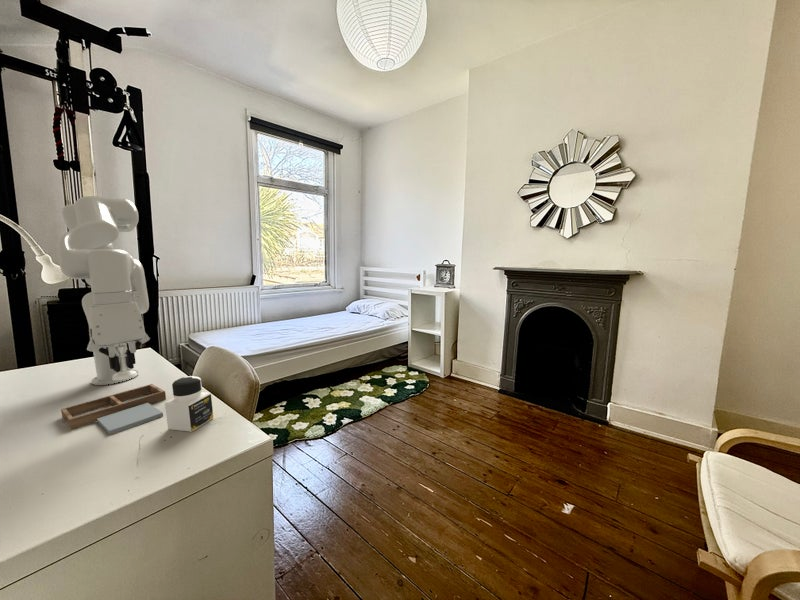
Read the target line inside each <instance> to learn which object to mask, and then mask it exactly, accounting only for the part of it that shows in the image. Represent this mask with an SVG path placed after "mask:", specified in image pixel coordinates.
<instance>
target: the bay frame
mask: <svg viewBox="0 0 800 600" xmlns="http://www.w3.org/2000/svg"><path fill="white" fill-rule="evenodd" d="M149 392H151V393H149ZM147 393H148V394H149V395H148V394H147ZM152 393H153V394H152ZM144 394H145V395H144ZM141 395H142V397H141ZM166 395H167V393H166V391H165V390H164V389H162V388H160V387H158V386H156V385H154V384H153V383H150V384H147V385H142V386H139V387H136V388H132V389H128V390H125V391H121V392H118V393H114V394H111V395H107V396H104V397H99V398H97V399H96V398H95V399H93V400H90V401H89V400H88V401H85V402H83V403H79V404H74V405H71V406H68V407H64V408H61V409H60V412H61V418H62V419H63V421H64V423H66V425H67V426H68V427H69V428H70V429H71V430H73V429H77V428H81V427H83V426H86V425H89V424H93V423H96V422H97V418H100V417H103V416H106V415H110V414H113V413H116V412H119V411H122V410H126V409H129V408H132V407H135V406H138V405H142V404H145V403H149V404H151V405H153V404H155V402H156V403H159V402H161V400H162V401H165V400H167V398H166V397H167V396H166ZM137 397H139V398H137ZM131 399H132V400H131ZM164 399H165V400H164ZM127 400H128V401H127ZM158 401H159V402H158ZM152 403H153V404H152ZM106 406H107V407H106ZM108 406H109V407H108ZM105 407H106V408H105ZM101 408H102V409H101ZM97 409H99V410H97ZM95 410H96V411H95ZM87 412H89V413H87ZM83 413H84V414H83ZM80 414H82V415H80ZM78 415H79V416H78ZM73 416H75V417H73Z"/></svg>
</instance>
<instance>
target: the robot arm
mask: <svg viewBox="0 0 800 600" xmlns="http://www.w3.org/2000/svg"><path fill="white" fill-rule="evenodd" d="M62 219H63V221H64V223H65V225H66V227H67V229H68V231H67V232H66V233H64V234H63V235H62V236H61V237H60V239H59V240H58V244H57V255H58V263H59V268H60V270H61V272H62V274H63V275H64V276H65V277H67V278H69V279H72V280H85V282H86V284H87V285H88V286H90V287H91V291H90V292H88V293H86V294H85V295H84V296H83V297H82V299H81V306H82V309H83V312H84V314H85V316H86V320H87V324H88V332H89V333H88V334H89V342H88V344H87V348H86V350H87V351H89V352H93V358H94V365H95V374H96V376H95V377H94V378H92V379H91V380H90V381H91V384H92V385H93V384H94V386H108V384H109V385H115V384H119V383H118V382H120V383H123V382H126V380H127V381H129V379H130V380H132V379H134V378H136V377H138V376H139V374H138V373H139V370H137V369H134V368H135V367H134V366H135V365H136V364H137V363H136V355H135V353H136V352H137V350H138V349H140V346H141V345H142V344H145V343H147V342H149V341H150V339H151V337H149V335H148V333H146V331H145V326H144V320H143V317H142V316H143V315H142V314H145V313H147V312H148V311H149V308H150V302H149V294H148V288H147V280H146V276H145V269H144V267H143V264H142V263H141V262H140V260H138V259H136V258H134V257H133V256H132V255H131V254H130V253H129V252H128V251H127V250H124V249H119V248H118V249H116V248H114V244H113V243H114V242H116V240H118V238H119V234H120V233H130V232H133V231H134V229H135V228H136V227H137V225H138V223H139V211H138V209H137V207H136V204H134V202H132V201H131V200H129V199H126V198H119V197H106V196H95V195H93V196H92V195H91V196H90V195H89V196H82V197H80V198H78V199H77V200H76V201H75V202H74V203H71V204H67V205H65V206H63V208H62ZM120 343H122V345H124V346H126V348H125V352H124V354H127V356H125V361H126V364H127V367H128V369H130V370H129V371H136V374H137V375H138V376H137V375H136V376H134V377H132V379H131V378H128V379H124V380H112V376H113V375H115V374H117V373H119V371H120V358H119V357H118V356H117V355H119V353H118V352H117V350H116V347H117V346H119V344H120ZM122 381H123V382H122ZM114 383H115V384H114Z"/></svg>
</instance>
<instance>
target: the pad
mask: <svg viewBox="0 0 800 600" xmlns="http://www.w3.org/2000/svg"><path fill="white" fill-rule="evenodd" d="M162 417H164V412H163V411H161V410H160V409H158V408H157V407H155V406H153V404H149V403H145V404H142V405H138V406H135V407H132V408H129V409H126V410H122V411H119V412H116V413H113V414H110V415H106V416H103V417H100V418H97V421H96V422H97V424H98V425H99V426H100V427H101V428H102V429H104V431H105V432H106V433H107V434H108V435H109V436H111V435H113V434H116V433H119V432H122V431H125V430H128V429H130V428H133V427H137V426H139V425H142V424H144V423H147V422H151V421H153V420H156V419H160V418H162Z"/></svg>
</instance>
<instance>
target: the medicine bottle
mask: <svg viewBox="0 0 800 600" xmlns="http://www.w3.org/2000/svg"><path fill="white" fill-rule="evenodd" d="M171 386H172V387H171V389H172V395H173V398H171V399H169V400H167V401H165V402H164V408H165V415H166V423H167V429H168V430H172V431H181V432H188V433H189V432H190V433H192V432H194V431H195V430H197V429H199V428H200V427H201V426H203V425H205V424H206V423H209V422H210V421H211V420H212V418H213V419H214V409H213V401H212V400H213V399H212V393H211V392H207V391H205V392H204V391H203V388H202V378H201V377H199V376H196V375H195V376H193V375H189V376H184V377H180V378H178V379H176V380H174V381H173V382H172V385H171Z"/></svg>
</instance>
